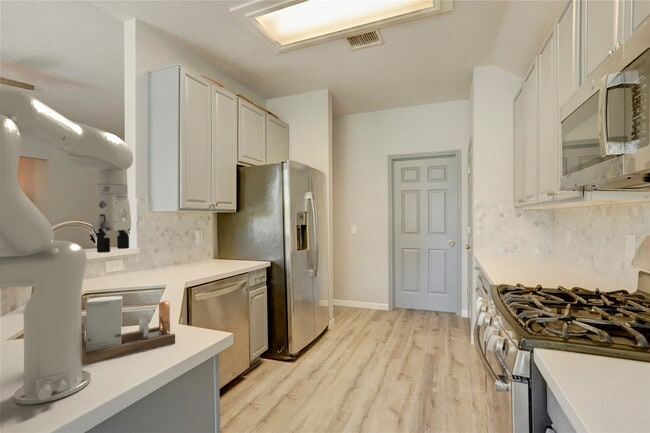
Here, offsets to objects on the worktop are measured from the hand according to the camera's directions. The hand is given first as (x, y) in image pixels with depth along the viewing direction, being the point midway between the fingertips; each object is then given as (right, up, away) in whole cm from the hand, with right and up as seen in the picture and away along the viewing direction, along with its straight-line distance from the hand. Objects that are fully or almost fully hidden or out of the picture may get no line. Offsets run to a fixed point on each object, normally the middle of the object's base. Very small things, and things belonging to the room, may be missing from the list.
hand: (114, 250), depth 95 cm
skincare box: (+1, -28, -5) cm, 28 cm away
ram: (+11, -27, +3) cm, 30 cm away
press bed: (+5, -27, -2) cm, 28 cm away
